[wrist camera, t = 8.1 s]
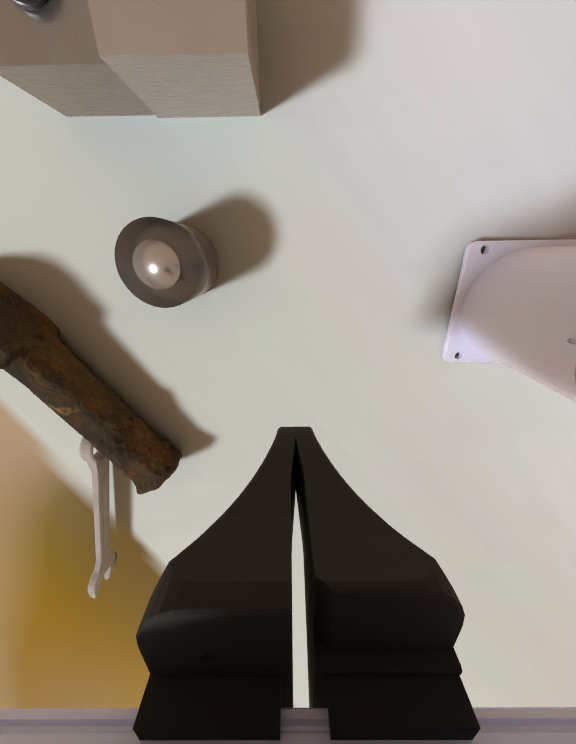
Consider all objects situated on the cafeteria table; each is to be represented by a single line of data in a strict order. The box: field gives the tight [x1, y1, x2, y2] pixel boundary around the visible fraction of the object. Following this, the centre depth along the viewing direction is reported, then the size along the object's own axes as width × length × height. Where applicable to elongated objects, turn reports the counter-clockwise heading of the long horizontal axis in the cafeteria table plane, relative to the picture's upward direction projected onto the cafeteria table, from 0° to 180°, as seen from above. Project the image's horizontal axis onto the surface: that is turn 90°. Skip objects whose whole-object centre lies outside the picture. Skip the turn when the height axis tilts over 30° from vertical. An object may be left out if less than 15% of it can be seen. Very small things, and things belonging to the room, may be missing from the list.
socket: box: [115, 217, 218, 308], centre depth 16 cm, size 4×4×4 cm
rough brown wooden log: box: [0, 284, 182, 494], centre depth 19 cm, size 19×4×5 cm, turn 30°
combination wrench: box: [80, 437, 117, 598], centre depth 25 cm, size 4×1×20 cm
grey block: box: [87, 0, 261, 118], centre depth 12 cm, size 6×5×5 cm
